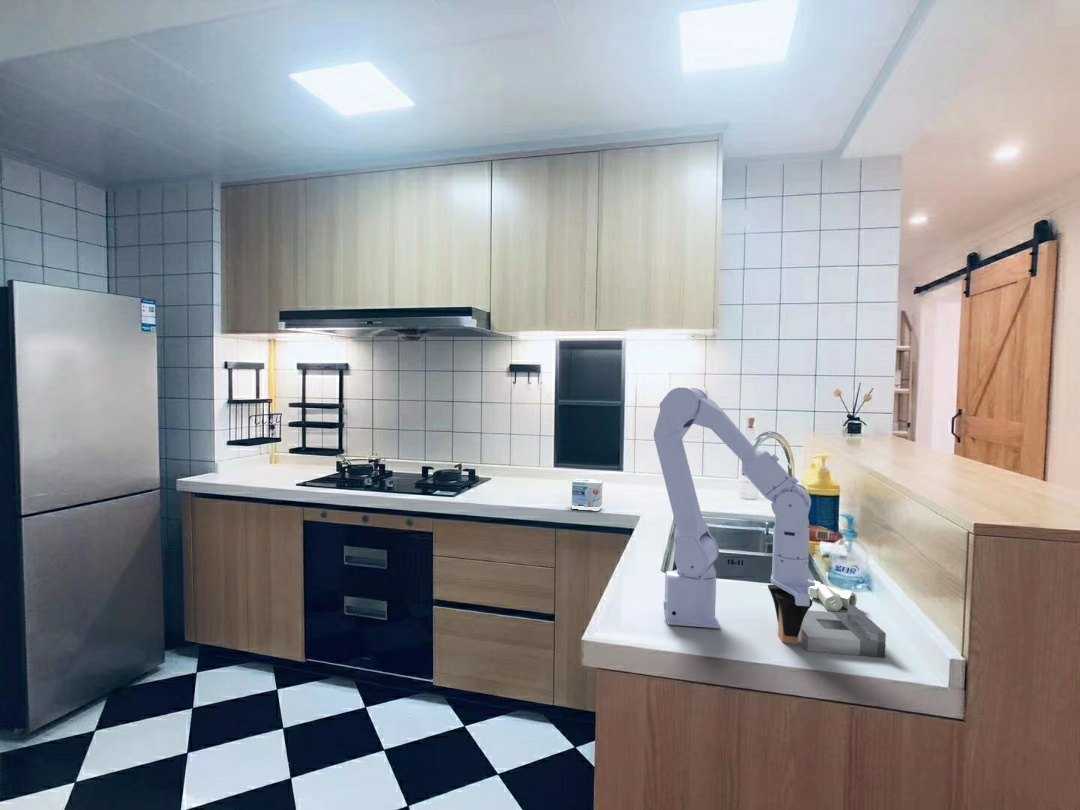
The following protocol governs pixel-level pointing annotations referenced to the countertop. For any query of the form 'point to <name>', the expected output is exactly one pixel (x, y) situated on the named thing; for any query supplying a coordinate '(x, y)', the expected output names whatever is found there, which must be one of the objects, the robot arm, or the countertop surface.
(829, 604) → the pipe fitting
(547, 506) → the countertop surface
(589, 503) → the light bulb box
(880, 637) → the grey square base
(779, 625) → the pin
